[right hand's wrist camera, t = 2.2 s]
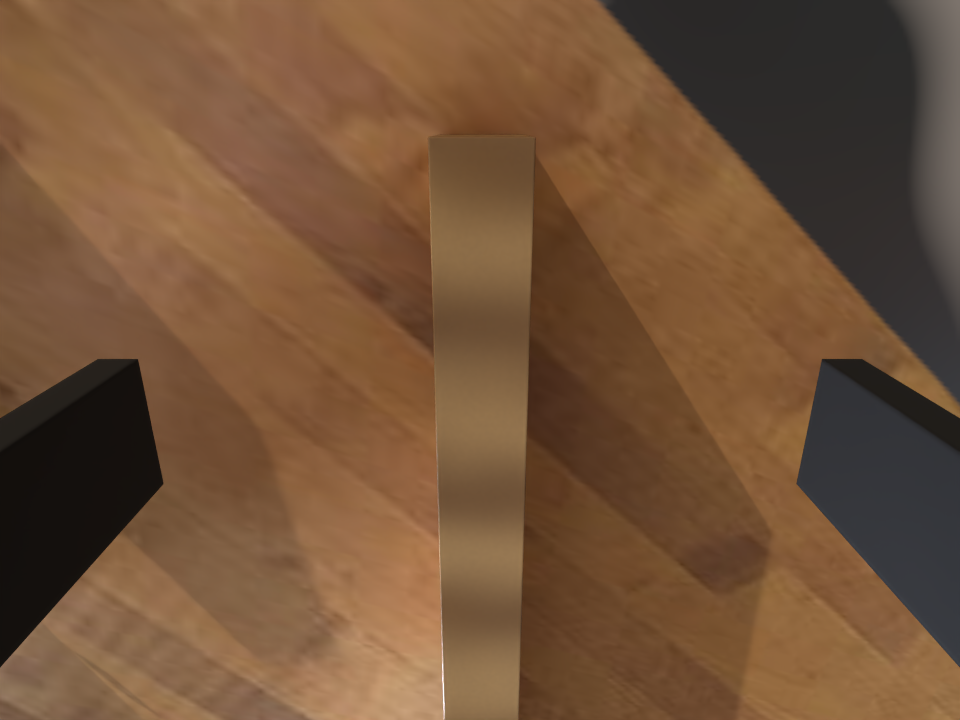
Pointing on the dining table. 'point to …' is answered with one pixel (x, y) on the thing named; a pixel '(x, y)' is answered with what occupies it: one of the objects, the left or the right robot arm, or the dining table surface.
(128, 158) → the dining table surface
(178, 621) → the dining table surface
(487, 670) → the beam
